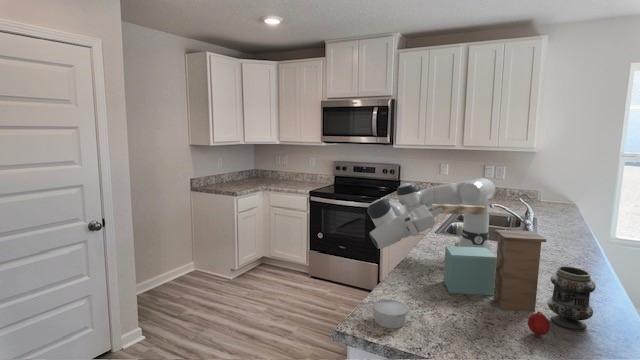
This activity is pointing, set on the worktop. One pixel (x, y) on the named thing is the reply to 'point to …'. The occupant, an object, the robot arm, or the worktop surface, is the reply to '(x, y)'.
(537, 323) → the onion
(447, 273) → the low block
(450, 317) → the worktop surface
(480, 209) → the rod
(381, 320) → the ramekin
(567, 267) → the apothecary jar
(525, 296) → the tall stand
